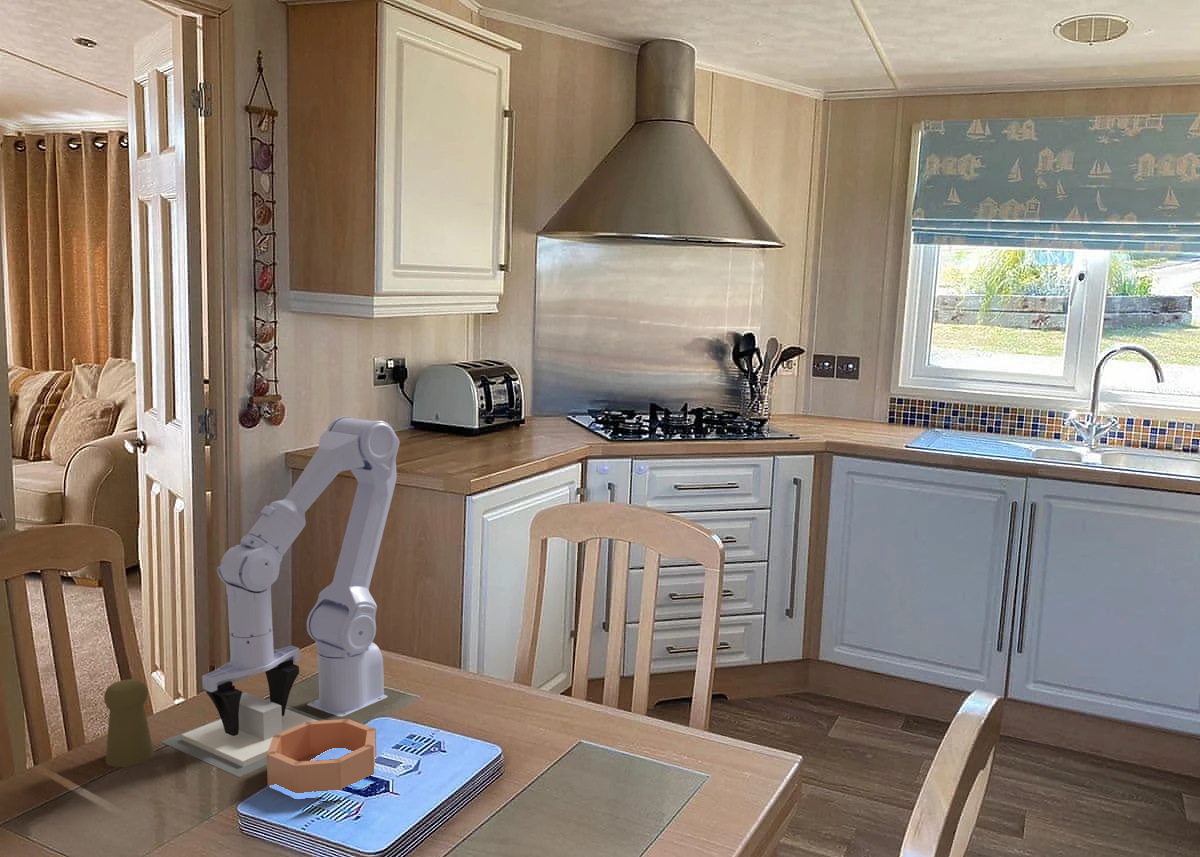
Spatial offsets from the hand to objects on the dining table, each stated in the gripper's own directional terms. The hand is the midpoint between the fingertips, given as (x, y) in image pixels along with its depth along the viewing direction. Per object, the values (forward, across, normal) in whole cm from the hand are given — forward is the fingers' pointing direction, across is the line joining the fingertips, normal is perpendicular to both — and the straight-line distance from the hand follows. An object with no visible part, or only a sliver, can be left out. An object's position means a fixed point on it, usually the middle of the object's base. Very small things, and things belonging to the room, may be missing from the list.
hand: (255, 724), depth 141 cm
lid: (+2, 0, 0) cm, 2 cm away
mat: (+2, 0, 0) cm, 2 cm away
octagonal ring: (+2, +2, +17) cm, 17 cm away
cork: (+2, +14, -8) cm, 16 cm away
